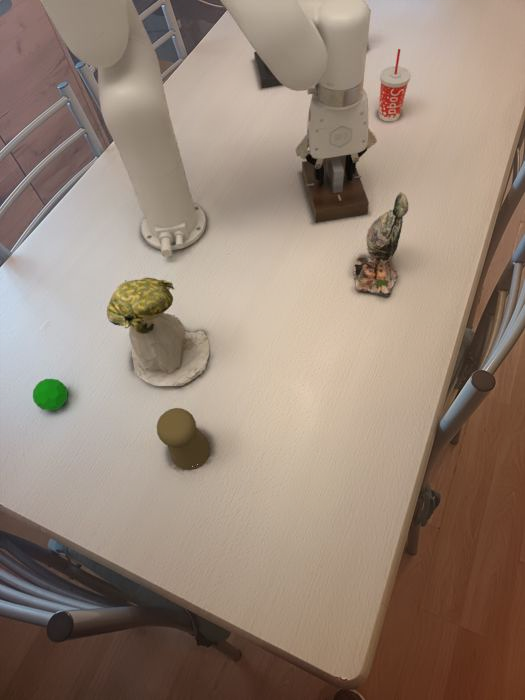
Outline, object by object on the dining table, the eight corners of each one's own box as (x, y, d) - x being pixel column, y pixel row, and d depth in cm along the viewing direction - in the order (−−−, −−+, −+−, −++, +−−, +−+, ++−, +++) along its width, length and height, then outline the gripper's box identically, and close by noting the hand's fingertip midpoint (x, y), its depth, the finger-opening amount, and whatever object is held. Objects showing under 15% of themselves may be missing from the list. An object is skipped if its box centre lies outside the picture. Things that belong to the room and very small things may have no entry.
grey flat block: (342, 191, 94) (344, 169, 90) (333, 193, 94) (334, 171, 90) (335, 169, 98) (336, 146, 93) (326, 170, 98) (326, 147, 93)
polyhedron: (36, 401, 80) (21, 388, 76) (61, 381, 82) (48, 367, 78) (52, 421, 78) (38, 408, 74) (78, 400, 80) (65, 387, 76)
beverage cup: (373, 122, 108) (381, 57, 96) (376, 105, 111) (385, 40, 99) (402, 124, 107) (413, 59, 95) (404, 107, 110) (416, 41, 98)
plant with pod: (408, 256, 89) (431, 164, 72) (387, 304, 84) (407, 217, 67) (364, 243, 92) (377, 151, 74) (342, 289, 87) (350, 202, 70)
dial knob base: (368, 214, 95) (370, 201, 92) (313, 223, 95) (313, 210, 92) (351, 165, 102) (353, 152, 100) (300, 174, 102) (300, 161, 99)
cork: (211, 429, 76) (197, 399, 66) (210, 469, 73) (195, 443, 63) (171, 432, 76) (152, 402, 66) (169, 471, 73) (148, 446, 63)
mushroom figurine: (187, 400, 78) (158, 340, 62) (118, 375, 82) (73, 311, 66) (219, 339, 84) (199, 270, 68) (153, 318, 87) (119, 246, 71)
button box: (303, 82, 118) (303, 65, 115) (261, 88, 118) (260, 72, 114) (294, 54, 124) (294, 37, 121) (254, 60, 124) (253, 44, 121)
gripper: (290, 110, 78) (293, 199, 94) (398, 92, 78) (383, 184, 94) (283, 82, 82) (287, 172, 97) (385, 66, 82) (373, 158, 97)
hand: (334, 177), depth 95 cm, fingers open, 4 cm apart
